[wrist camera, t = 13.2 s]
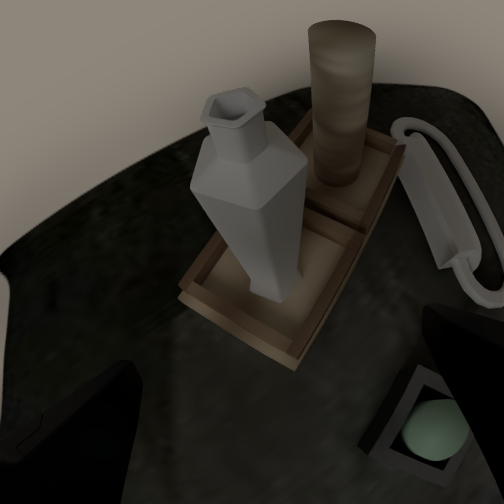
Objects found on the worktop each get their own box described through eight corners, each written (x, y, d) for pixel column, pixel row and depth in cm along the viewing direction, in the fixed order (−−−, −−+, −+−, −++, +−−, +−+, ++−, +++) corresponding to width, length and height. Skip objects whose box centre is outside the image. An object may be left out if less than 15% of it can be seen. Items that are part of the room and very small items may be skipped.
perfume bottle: (316, 258, 23) (321, 78, 10) (293, 313, 22) (272, 164, 8) (259, 238, 25) (209, 64, 11) (234, 289, 23) (144, 136, 10)
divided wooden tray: (403, 161, 27) (409, 143, 25) (295, 372, 21) (294, 369, 19) (310, 125, 31) (309, 106, 28) (182, 302, 24) (170, 291, 22)
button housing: (463, 402, 17) (490, 400, 14) (424, 475, 16) (445, 487, 12) (399, 370, 20) (418, 364, 16) (356, 446, 18) (367, 455, 14)
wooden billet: (365, 162, 26) (383, 29, 15) (348, 194, 25) (364, 53, 14) (325, 146, 28) (324, 16, 16) (305, 176, 27) (296, 37, 15)
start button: (451, 411, 16) (479, 411, 13) (426, 458, 15) (450, 468, 12) (411, 392, 18) (433, 389, 14) (384, 440, 17) (402, 448, 13)
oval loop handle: (510, 306, 21) (539, 289, 17) (452, 327, 20) (485, 309, 16) (429, 135, 30) (443, 110, 27) (369, 128, 29) (382, 99, 25)
